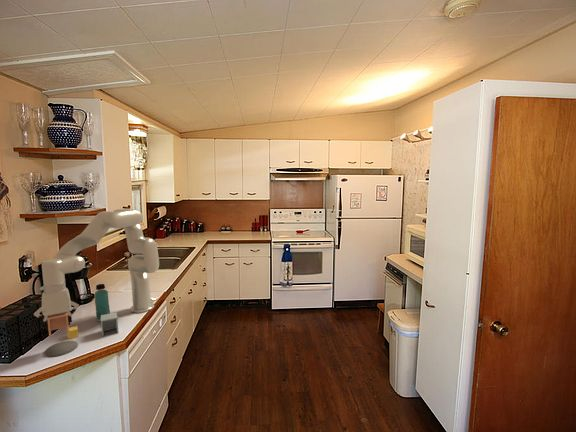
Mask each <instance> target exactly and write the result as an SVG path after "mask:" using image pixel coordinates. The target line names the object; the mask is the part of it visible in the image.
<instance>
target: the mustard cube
mask: <svg viewBox="0 0 576 432" xmlns="http://www.w3.org/2000/svg"><path fill="white" fill-rule="evenodd" d="M66 332H67V331H66ZM78 337H79V329H78V325H76V326H71V327H70V326H69V332H67V340H70V339H74V338H78Z"/></svg>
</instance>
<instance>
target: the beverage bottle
mask: <svg viewBox="0 0 576 432" xmlns="http://www.w3.org/2000/svg"><path fill="white" fill-rule="evenodd" d="M95 285H96V286H95V290H96V291H95V292H94V305H95V317H96V320H97V321H101V315H105V314H110V313H111V311H110V301H109V291H108V290H107V289H106V285H105V284H104V283H98V284H95Z"/></svg>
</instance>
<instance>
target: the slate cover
mask: <svg viewBox="0 0 576 432" xmlns="http://www.w3.org/2000/svg"><path fill="white" fill-rule="evenodd" d="M118 322H119V321H118V312H112V313H111V312H110V314H105V315H101V320H100V326H101V328H100V329H101V336H102V337H104V331H109V330H113V329H116V333H117V334H119V323H118Z"/></svg>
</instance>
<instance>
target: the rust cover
mask: <svg viewBox="0 0 576 432" xmlns="http://www.w3.org/2000/svg"><path fill="white" fill-rule="evenodd" d="M47 320H48V330H47V331H48V336H49V337H51V336H52V331H55V330H59V329H60V330H61V329H63V328H66V332H69V328H70V325H68V314H67V313H66V312H65V313H60V314H55V315H50V316H49V317H47Z"/></svg>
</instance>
